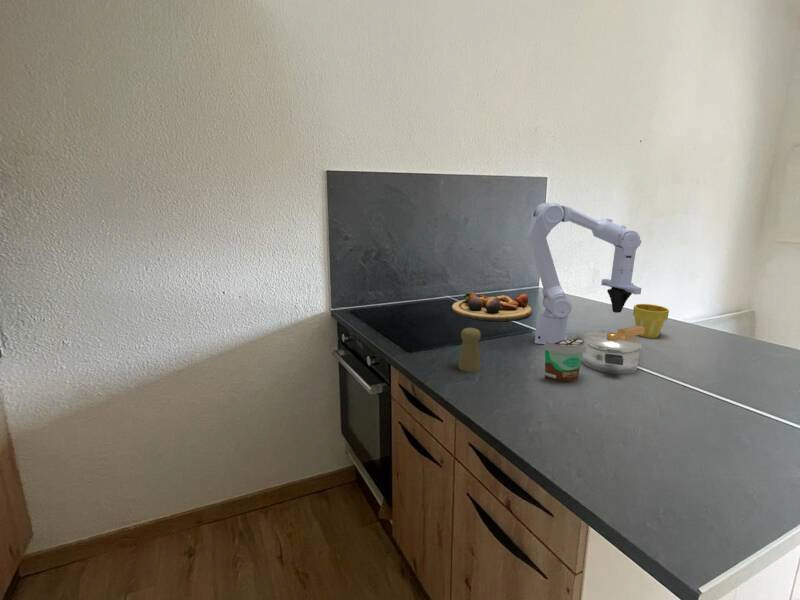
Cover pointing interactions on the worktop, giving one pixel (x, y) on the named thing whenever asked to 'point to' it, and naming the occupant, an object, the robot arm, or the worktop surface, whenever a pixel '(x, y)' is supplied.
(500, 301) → the wooden plate with food
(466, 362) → the cork
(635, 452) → the worktop surface
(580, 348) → the food container
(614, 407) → the worktop surface
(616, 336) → the lid
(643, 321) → the plant pot
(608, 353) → the cooker pot
